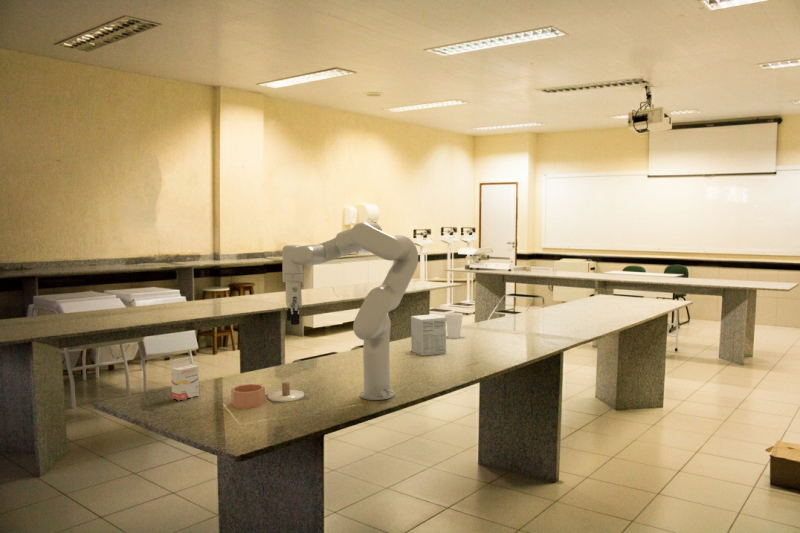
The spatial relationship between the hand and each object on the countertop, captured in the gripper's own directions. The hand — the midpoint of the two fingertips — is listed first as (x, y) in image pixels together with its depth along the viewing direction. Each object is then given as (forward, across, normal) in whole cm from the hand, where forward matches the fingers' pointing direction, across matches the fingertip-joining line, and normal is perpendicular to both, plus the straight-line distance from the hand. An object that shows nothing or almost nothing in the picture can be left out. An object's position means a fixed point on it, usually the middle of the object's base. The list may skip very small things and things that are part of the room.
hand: (293, 322), depth 237 cm
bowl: (+26, -15, +18) cm, 35 cm away
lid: (+25, -12, +5) cm, 28 cm away
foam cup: (+25, +73, -99) cm, 125 cm away
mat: (+26, -12, +4) cm, 29 cm away
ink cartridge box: (+27, +3, +39) cm, 48 cm away
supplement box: (+25, +42, -72) cm, 87 cm away
